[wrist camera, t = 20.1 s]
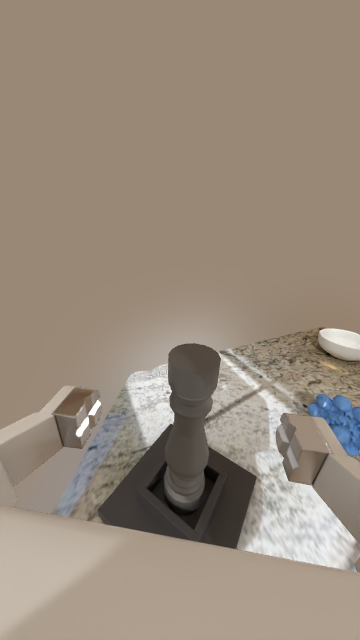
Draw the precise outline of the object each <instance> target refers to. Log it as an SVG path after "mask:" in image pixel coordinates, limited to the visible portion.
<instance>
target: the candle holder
mask: <svg viewBox="0 0 360 640" xmlns="http://www.w3.org/2000/svg"><path fill="white" fill-rule="evenodd" d="M168 361H169V362H168V382H169V385H170V387H171V390H172V393H171V395H170V407H171V409H172V410H173V412H174V413H175V414H174V425H173V427H172V430H171V433H170V436H169V438H168V441H167V444H166V446H165V460H166V462H167V464H168V466H167V469H166V472H165V475H164V498H165V501H166V503H167V506H168V507H169V508H170V509H171V510H172V511H173V512H174V513H175V514H178V515H180V516H188V515H191V514H193V513H194V512H196V511H197V510H198V508H199V507H200V505H201V503H202V499H203V492H204V485H205V478H204V468H205V467H206V465H207V463H208V456H209V450H208V445H207V440H206V434H205V429H204V421H205V417H206V416H207V415H208V413H209V412H210V411H211V408H212V403H213V401H212V398H211V395H212V394H213V391H214V390H215V389H216V387H217V382H218V375H219V368H220V361H221V358H220V356H219V354H218V353H217V352H216V351H214V350H213V349H212V348H210V347H207V346H205V345H199V344H183V345H179V346H177V347H175V348H173V349H172V350H171V351H170V353H169V359H168Z"/></svg>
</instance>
